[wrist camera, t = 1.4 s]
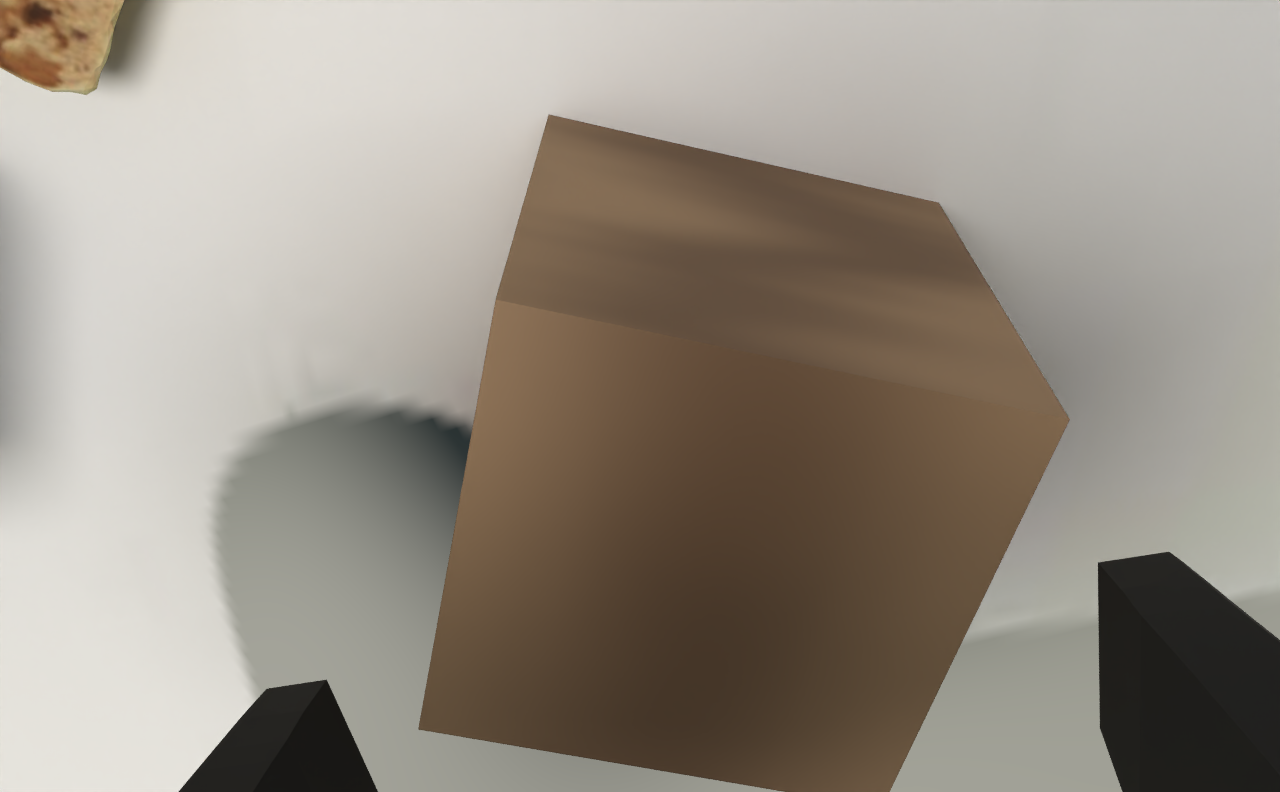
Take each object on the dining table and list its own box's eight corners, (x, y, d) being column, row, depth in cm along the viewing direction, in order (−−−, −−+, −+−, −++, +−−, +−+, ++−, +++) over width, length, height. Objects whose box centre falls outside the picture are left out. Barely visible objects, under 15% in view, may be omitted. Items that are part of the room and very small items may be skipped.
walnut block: (937, 201, 16) (1069, 418, 11) (819, 514, 19) (881, 807, 14) (549, 113, 16) (495, 298, 10) (485, 448, 18) (418, 728, 13)
